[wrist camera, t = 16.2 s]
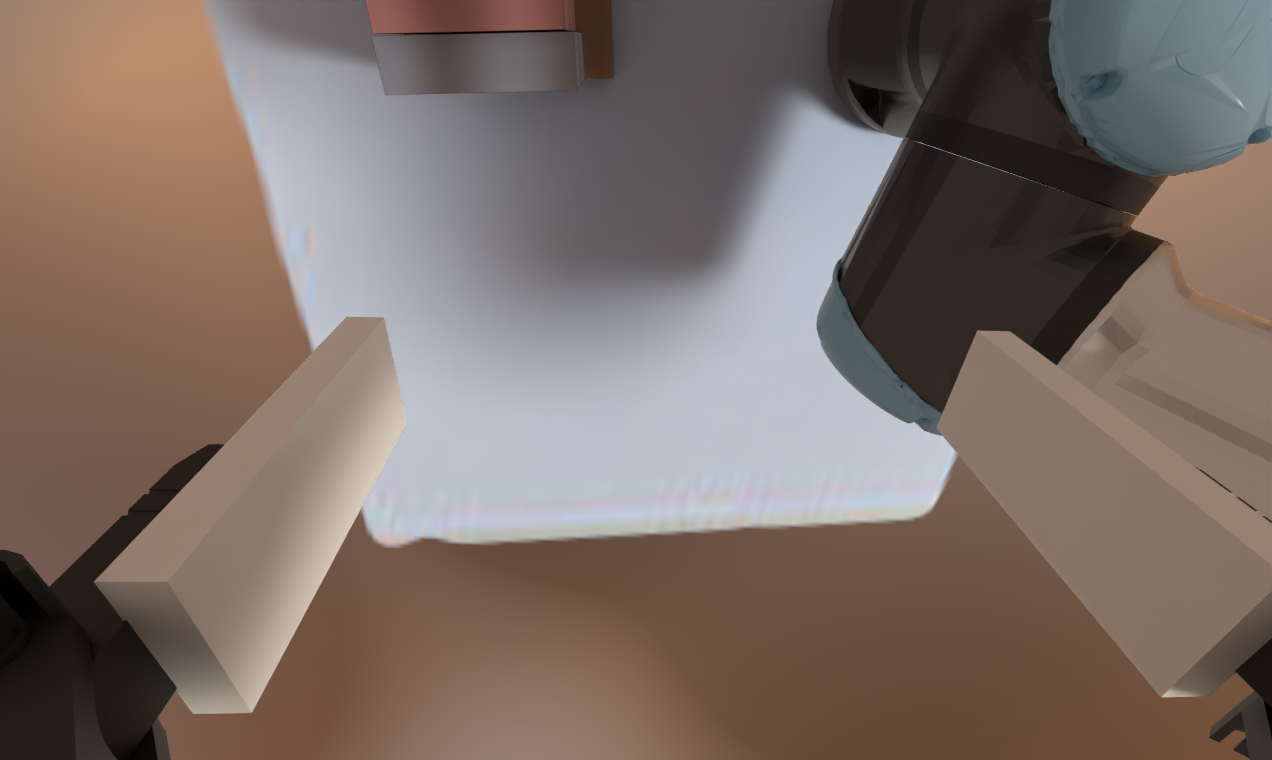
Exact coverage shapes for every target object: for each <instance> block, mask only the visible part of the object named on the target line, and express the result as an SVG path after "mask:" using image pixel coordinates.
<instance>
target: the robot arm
mask: <svg viewBox="0 0 1272 760" xmlns="http://www.w3.org/2000/svg"><path fill="white" fill-rule="evenodd" d="M828 56H829V64H830V70H831V74H832V78H833V81H834V84H835V86H836V89H837V91H838V93H839V95H840V97H841V99H842V101H843V102H844V104H845V105H846V106H847V108H848V109H849V110H850V111H851V112H852V114H853V115H854V116H855V117H857V118H858V119H859V120H860V121H861V122H863V123H864V124H866V125H867V126H869V127H871V128H873V129H875V130H878V131H880V132H883V133H886V134H889V135H892V136H896V137H900V138H903V140H902V142H901V144H900V146H899V148H898V150H897V152H896V154H895V156H894V158H893V160H892V162H891V164H890V166H889V168H888V170H887V172H886V174H885V176H884V178H883V180H882V182H881V184H880V186H879V188H878V190H877V192H876V194H875V196H874V198H873V200H872V201H871V203H870V205H869V207H868V209H867V211H866V213H865V215H864V217H863V219H862V221H861V223H860V225H859V227H858V229H857V230H856V232H855V234H854V236H853V238H852V240H851V242H850V244H849V246H848V248H847V250H846V252H845V254H844V256H843V257H842V258H841V259H840V260H839V261H838V262H837V264H836V265H835V268H834V271H833V280H832V283H831V285H830V287H829V289H828V291H827V294H826V296H825V298H824V300H823V303H822V305H821V307H820V309H819V312H818V316H817V331H818V335H819V338H820V340H821V346H822V348H823V350H824V352H825V354H826V355H827V357H828V359H829V360H830V361H831V363H832V364H833V365H834V367H835V368H836V369H837V370H838V372H839V373H840V374H841V375H842V376H843V377H844V378H845V379H846V380H847V381H848V382H849V383H850V384H851V385H852V386H853V387H854V388H856V389H857V390H858V391H859V392H860V393H861V394H863V395H864V396H865V397H866V398H868V399H869V400H870V401H872V402H873V403H874V404H876V405H877V406H878V407H880V408H881V409H883V410H884V411H886V412H888V413H889V414H891V415H893V416H894V417H896V418H898V419H900V420H902V421H904V422H906V423H913V422H915V423H916V424H918V425H919V426H920V427H921V428H922V429H923V430H924V431H927V432H930V433H933V434H936V435H941V436H943V437H944V438H945V439H946V440H947V441H948V443H949V444H950V445H951V446H952V447H953V449H954V450H955V451H956V452H957V453H958V455H959V456H960V457H961V458H962V459H963V461H964V462H965V463H966V464H967V465H968V467H969V468H970V469H971V470H972V471H973V473H975V475H976V476H977V477H978V479H979V480H980V481H981V482H982V483H983V485H984V486H985V487H986V488H987V489H988V490H989V492H990V493H991V494H992V495H993V496H994V498H995V499H996V500H997V501H998V502H999V504H1000V505H1001V506H1002V507H1003V508H1004V510H1005V511H1006V512H1007V513H1008V514H1009V516H1010V517H1011V518H1012V519H1013V520H1014V522H1015V523H1016V524H1017V525H1018V526H1019V527H1020V529H1021V530H1022V531H1023V532H1024V534H1025V535H1026V536H1027V537H1028V538H1029V540H1030V541H1031V542H1032V543H1033V544H1034V546H1035V547H1036V548H1037V549H1038V550H1039V551H1040V553H1041V554H1042V555H1043V556H1044V557H1045V559H1046V560H1047V561H1048V562H1049V564H1050V565H1051V566H1052V567H1053V568H1054V570H1055V571H1056V572H1057V573H1058V574H1059V575H1060V577H1061V578H1062V579H1063V580H1064V581H1065V583H1066V584H1067V585H1068V586H1069V587H1070V589H1071V590H1072V591H1073V592H1074V593H1075V595H1076V596H1077V597H1078V598H1079V599H1080V601H1081V602H1082V603H1083V604H1084V605H1085V607H1086V608H1087V609H1088V610H1089V611H1090V613H1091V614H1092V615H1093V616H1094V617H1095V619H1096V620H1097V621H1098V622H1099V623H1100V625H1101V626H1102V627H1103V628H1104V629H1105V630H1106V632H1107V633H1108V634H1109V635H1110V636H1111V638H1112V639H1113V640H1114V641H1115V643H1116V644H1117V645H1118V646H1119V647H1120V648H1121V650H1122V651H1123V652H1124V653H1125V655H1126V656H1127V657H1128V658H1129V659H1130V660H1131V661H1132V663H1133V664H1134V665H1135V666H1136V668H1137V669H1138V670H1139V671H1140V672H1141V673H1142V675H1143V676H1144V677H1145V678H1146V680H1147V681H1148V682H1149V683H1150V684H1151V686H1152V687H1153V688H1154V689H1155V690H1156V692H1157V693H1158V694H1159V695H1160V696H1161V697H1192V696H1193V697H1195V696H1210V695H1211V694H1212V693H1213V692H1214V691H1216V690H1217V689H1218V688H1219V687H1220V686H1221V685H1222V684H1223V683H1225V682H1226V681H1227V680H1228V679H1229V678H1230V677H1231V676H1232V675H1234V674H1235V673H1236V672H1237V673H1238V674H1239V675H1240V676H1241V677H1242V678H1243V679H1244V680H1245V681H1246V682H1247V683H1248V684H1249V685H1250V686H1251V687H1252V688H1253V689H1254V692H1253V693H1251V694H1250V695H1249V696H1248V697H1246V698H1245V699H1244V700H1243V701H1242V702H1241V703H1239V704H1238V705H1237V706H1236V707H1234V708H1233V709H1232V710H1231V711H1230V712H1228V713H1227V714H1226V715H1225V716H1224V717H1222V718H1221V719H1220V720H1219V721H1218V722H1216V723H1215V724H1214V725H1213V726H1212V727H1211V731H1210V736H1209V737H1210V738H1211V739H1213V740H1215V741H1217V742H1220V741H1221V740H1223V739H1224V738H1225V737H1226V736H1228V735H1229V734H1230V733H1231V732H1233V731H1234V730H1239V731H1242V732H1245V735H1246V738H1245V739H1244V740H1242V741H1241V742H1240V743H1239V744H1237V745H1236V746H1235V747H1234V748H1233V750H1234V751H1236V752H1238V753H1240V754H1242V755H1244V756H1246V757H1248V758H1250V760H1272V322H1271V321H1268V320H1266V319H1263V318H1260V317H1258V316H1255V315H1253V314H1250V313H1248V312H1245V311H1242V310H1240V309H1237V308H1234V307H1232V306H1229V305H1227V304H1224V303H1222V302H1219V301H1216V300H1214V299H1211V298H1209V297H1206V296H1203V295H1201V294H1199V293H1197V292H1196V291H1195V290H1194V289H1192V288H1191V287H1190V286H1188V285H1187V282H1186V279H1185V276H1184V273H1183V270H1182V267H1181V264H1180V261H1179V258H1178V255H1177V252H1176V249H1175V246H1174V244H1172V243H1170V242H1168V241H1164V240H1161V239H1158V238H1155V237H1152V236H1150V235H1147V234H1144V233H1141V232H1138V231H1135V230H1133V229H1132V227H1131V225H1132V223H1133V221H1134V220H1135V218H1136V216H1134V215H1139V213H1140V212H1141V211H1142V209H1143V208H1144V207H1145V206H1146V204H1147V203H1148V202H1149V200H1150V199H1151V198H1152V196H1153V195H1154V194H1155V193H1156V191H1157V190H1158V189H1159V187H1160V186H1161V185H1162V184H1163V182H1164V181H1165V180H1166V178H1167V177H1168V176H1176V175H1179V174H1182V173H1189V172H1194V171H1199V170H1204V169H1208V168H1211V167H1214V166H1217V165H1221V164H1224V163H1226V162H1228V161H1230V160H1232V159H1234V158H1236V157H1238V156H1240V155H1241V154H1242V153H1243V151H1244V149H1245V147H1246V145H1248V144H1258V143H1262V142H1265V141H1267V140H1268V139H1270V138H1271V137H1272V0H834V3H833V7H832V12H831V17H830V23H829V31H828ZM909 139H910V140H909ZM912 140H913V141H912ZM915 141H917V142H915ZM918 142H921V143H924V144H926V145H924V144H921V143H918ZM927 145H929V146H927ZM930 146H933V147H936V148H939V149H941V150H939V149H936V148H933V147H930ZM942 150H944V151H942ZM945 151H947V152H945ZM948 152H950V153H948ZM951 153H953V154H951ZM954 154H956V155H954ZM957 155H959V156H957ZM960 156H962V157H960ZM963 157H965V158H963ZM966 158H968V159H966ZM969 159H971V160H969ZM972 160H974V161H972ZM975 161H977V162H980V163H983V164H986V165H988V166H986V165H983V164H980V163H977V162H975ZM989 166H991V167H989ZM992 167H994V168H992ZM995 168H997V169H995ZM998 169H1000V170H998ZM1001 170H1003V171H1001ZM1004 171H1006V172H1004ZM1007 172H1009V173H1007ZM1010 173H1012V174H1010ZM1013 174H1015V175H1013ZM1016 175H1018V176H1016ZM1019 176H1021V177H1019ZM1022 177H1023V178H1022ZM1025 178H1026V179H1025ZM1028 179H1029V180H1028ZM1031 180H1032V181H1031ZM1034 181H1035V182H1034ZM1037 182H1038V183H1037ZM1040 183H1041V184H1040ZM1043 184H1044V185H1043ZM1045 185H1047V186H1045ZM1048 186H1049V187H1048ZM1051 187H1052V188H1051ZM1054 188H1055V189H1054ZM1057 189H1058V190H1057ZM1060 190H1061V191H1060ZM1063 191H1064V192H1063ZM1066 192H1067V193H1066ZM1069 193H1070V194H1069ZM1072 194H1073V195H1072ZM1119 210H1120V211H1119ZM1122 211H1125V212H1128V213H1131V214H1134V215H1131V214H1128V213H1125V212H1122ZM406 423H407V419H406V415H405V410H404V406H403V401H402V397H401V392H400V388H399V384H398V379H397V375H396V370H395V366H394V361H393V357H392V352H391V348H390V344H389V339H388V335H387V330H386V326H385V321H384V318H375V317H346V318H345V319H344V320H343V321H342V322H341V323H340V324H339V325H338V327H337V328H336V329H335V330H334V331H333V332H332V333H331V334H330V335H329V336H328V337H327V338H326V339H325V340H324V341H323V342H322V343H321V344H320V345H319V346H318V347H317V349H316V350H315V351H314V352H313V353H312V354H311V355H310V356H309V357H308V358H307V359H306V360H305V361H304V362H303V363H302V364H301V365H300V366H299V367H298V368H297V369H296V371H295V372H294V373H293V374H292V375H291V376H290V377H289V378H288V379H287V380H286V381H285V382H284V383H283V384H282V385H281V386H280V387H279V388H278V389H277V391H276V392H275V393H274V394H273V395H272V396H271V397H270V398H269V399H268V400H267V401H266V402H265V403H264V404H263V405H262V406H261V407H260V408H259V409H258V410H257V411H256V413H255V414H254V415H253V416H252V417H251V418H250V419H249V420H248V421H247V422H246V423H245V424H244V425H243V426H242V427H241V428H240V429H239V430H238V431H237V432H236V434H235V435H234V436H233V437H232V438H231V439H230V440H229V441H228V442H227V443H226V444H225V445H219V444H209V445H207V446H205V447H204V448H202V449H200V450H199V451H197V452H196V453H194V454H192V455H190V456H189V457H187V458H185V459H184V460H182V461H180V462H179V463H177V464H176V465H174V466H173V467H172V468H171V469H170V470H169V471H168V472H167V473H166V474H165V475H164V476H163V477H162V478H161V479H160V480H159V481H158V482H157V483H155V484H154V485H153V486H152V488H150V492H149V494H144V495H143V496H142V497H141V498H140V499H139V500H138V501H137V502H136V503H135V504H134V505H133V506H132V507H131V508H130V509H129V510H128V515H127V516H122V517H121V518H120V519H119V520H117V522H115V524H113V525H112V526H111V527H110V528H109V529H108V530H107V531H106V532H105V533H104V534H103V535H102V536H101V537H100V538H99V539H98V540H97V541H96V542H95V543H94V544H93V545H92V546H91V547H90V548H89V549H88V550H87V551H86V552H85V553H84V554H83V555H82V556H81V557H79V559H77V561H75V562H74V563H73V564H72V565H71V566H70V567H69V568H68V569H67V570H66V571H65V572H64V573H63V574H62V575H61V576H60V577H59V578H58V579H57V580H56V581H55V582H54V583H53V584H52V585H51V586H50V587H48V586H47V584H46V583H45V582H44V581H43V580H42V578H41V577H40V576H39V575H38V573H37V572H36V571H35V570H34V569H33V567H32V566H31V565H30V564H29V562H28V561H27V560H26V559H25V558H24V557H23V555H21V554H17V553H14V552H11V551H7V550H0V760H171V759H170V753H169V747H168V742H167V736H166V731H165V730H164V728H163V726H162V725H161V723H160V721H159V720H158V718H157V717H158V716H159V714H160V713H161V711H162V710H163V708H164V707H165V705H166V704H167V702H168V701H169V699H170V698H171V696H172V695H173V693H174V692H175V690H176V692H177V693H178V694H179V696H180V697H181V698H182V700H183V701H184V702H185V703H186V705H187V706H188V708H189V709H190V710H191V712H192V713H193V714H200V713H201V714H204V713H205V714H207V713H252V711H253V709H254V708H255V705H256V704H257V702H258V700H259V698H260V696H261V694H262V693H263V691H264V689H265V687H266V685H267V683H268V681H269V679H270V678H271V676H272V674H273V672H274V670H275V668H276V666H277V664H278V663H279V661H280V659H281V657H282V655H283V653H284V651H285V649H286V648H287V646H288V644H289V642H290V640H291V638H292V636H293V635H294V633H295V631H296V629H297V627H298V625H299V623H300V621H301V619H302V618H303V616H304V614H305V612H306V610H307V608H308V606H309V604H310V603H311V601H312V599H313V597H314V595H315V593H316V592H317V590H318V588H319V586H320V584H321V582H322V580H323V578H324V577H325V575H326V573H327V571H328V569H329V567H330V565H331V563H332V561H333V560H334V558H335V556H336V554H337V552H338V550H339V548H340V547H341V545H342V543H343V541H344V539H345V537H346V535H347V533H348V532H349V530H350V528H351V526H352V524H353V522H354V520H355V518H356V517H357V515H358V513H359V511H360V509H361V507H362V505H363V504H364V502H365V500H366V498H367V496H368V494H369V492H370V490H371V489H372V487H373V485H374V483H375V481H376V479H377V477H378V476H379V474H380V472H381V470H382V468H383V466H384V464H385V462H386V461H387V459H388V457H389V455H390V453H391V451H392V449H393V447H394V446H395V444H396V442H397V440H398V438H399V436H400V434H401V432H402V431H403V429H404V427H405V425H406Z"/></svg>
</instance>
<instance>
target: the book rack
mask: <svg viewBox="0 0 1272 760" xmlns="http://www.w3.org/2000/svg"><path fill="white" fill-rule="evenodd" d="M365 1H366V6H367V10H368V14H369V18H370V23H371V27H372V31H373V33H376V34H404V35H399V36H371V37H372V41H373V45H374V49H375V54H376V58H377V62H378V66H379V70H380V75H381V79H382V83H383V87H384V92H385V95H406V94H445V93H485V92H524V91H564V90H577V89H578V88H579V86H580V84H581V83H582V81H583V79H586V78H613V56H612V28H611V1H610V0H365Z"/></svg>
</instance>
